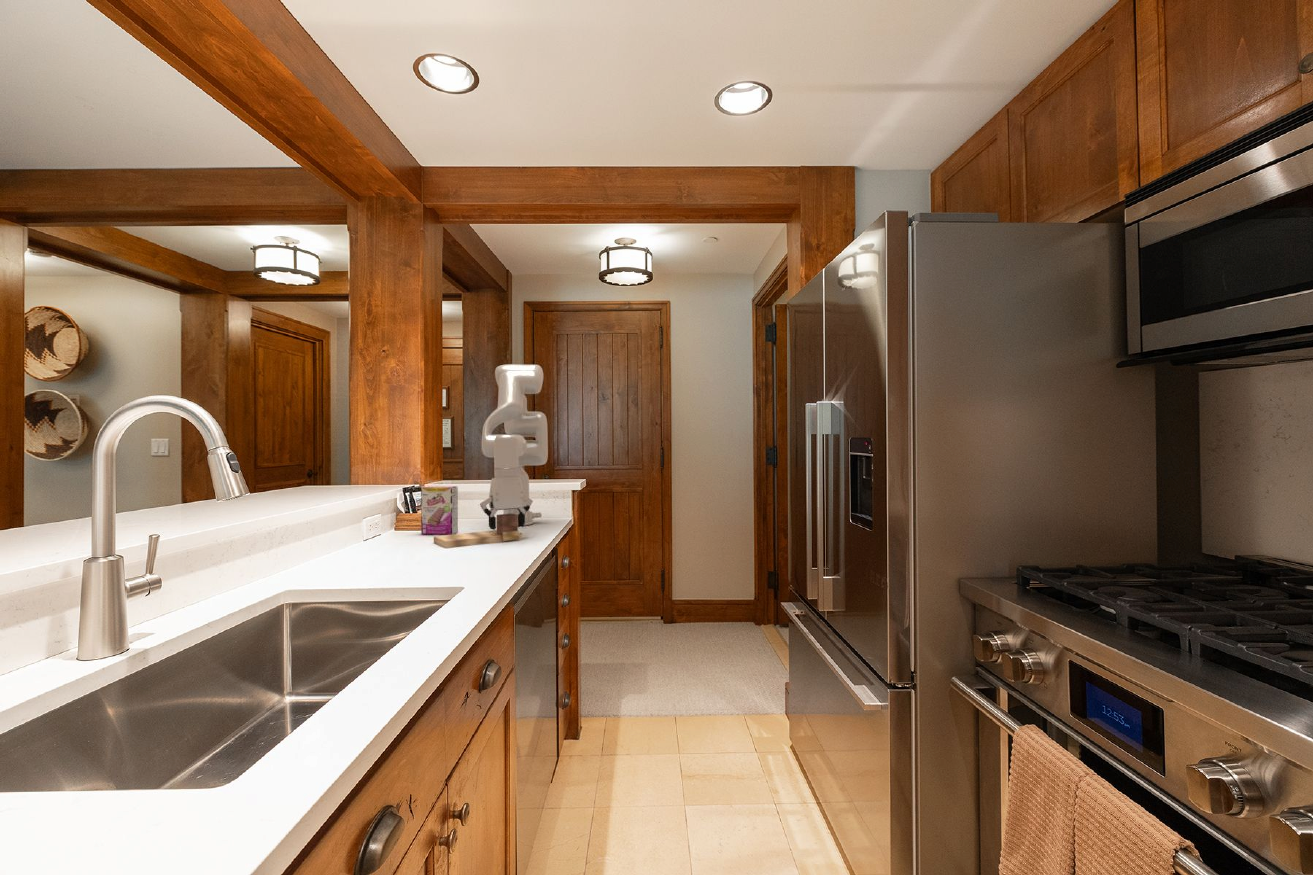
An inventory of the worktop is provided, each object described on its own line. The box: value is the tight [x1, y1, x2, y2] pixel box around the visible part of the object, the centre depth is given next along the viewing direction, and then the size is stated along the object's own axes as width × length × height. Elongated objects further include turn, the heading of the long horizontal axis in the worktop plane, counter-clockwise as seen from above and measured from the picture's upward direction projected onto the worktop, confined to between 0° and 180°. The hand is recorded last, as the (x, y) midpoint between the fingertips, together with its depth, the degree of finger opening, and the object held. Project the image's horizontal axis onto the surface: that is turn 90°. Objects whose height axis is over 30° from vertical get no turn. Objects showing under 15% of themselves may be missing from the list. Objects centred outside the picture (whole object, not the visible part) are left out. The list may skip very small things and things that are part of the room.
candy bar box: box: [420, 485, 459, 536], centre depth 208 cm, size 11×5×16 cm, turn 84°
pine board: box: [433, 529, 523, 549], centre depth 193 cm, size 24×12×2 cm, turn 126°
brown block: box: [496, 513, 520, 542], centre depth 194 cm, size 5×6×8 cm
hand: (507, 527), depth 194 cm, fingers open, 9 cm apart
